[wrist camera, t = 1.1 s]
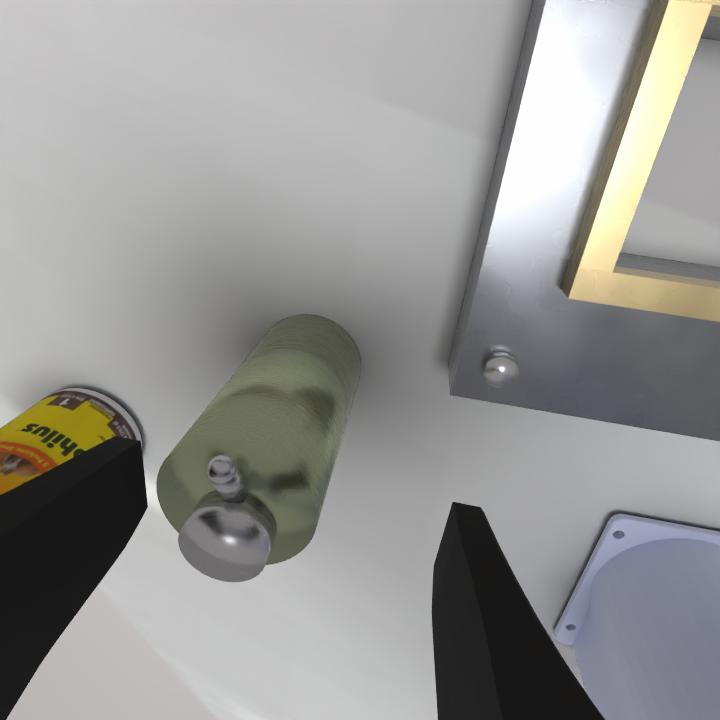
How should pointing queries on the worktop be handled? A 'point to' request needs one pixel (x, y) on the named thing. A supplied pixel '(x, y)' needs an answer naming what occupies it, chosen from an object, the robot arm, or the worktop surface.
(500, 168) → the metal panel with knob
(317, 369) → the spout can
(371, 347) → the worktop surface
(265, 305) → the worktop surface
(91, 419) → the supplement bottle
